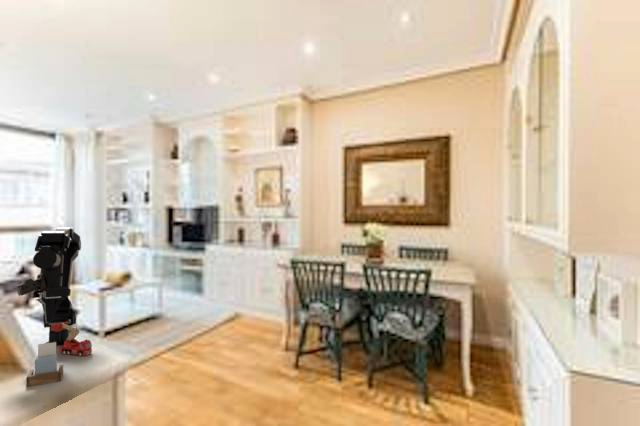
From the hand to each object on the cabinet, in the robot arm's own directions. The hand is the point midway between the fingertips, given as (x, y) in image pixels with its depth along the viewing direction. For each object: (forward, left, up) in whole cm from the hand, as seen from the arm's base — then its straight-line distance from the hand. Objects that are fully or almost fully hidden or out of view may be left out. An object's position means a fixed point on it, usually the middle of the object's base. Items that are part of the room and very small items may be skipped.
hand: (48, 321), depth 113 cm
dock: (+9, +6, -13) cm, 17 cm away
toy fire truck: (-7, +3, -13) cm, 15 cm away
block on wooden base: (+12, +7, -13) cm, 19 cm away
